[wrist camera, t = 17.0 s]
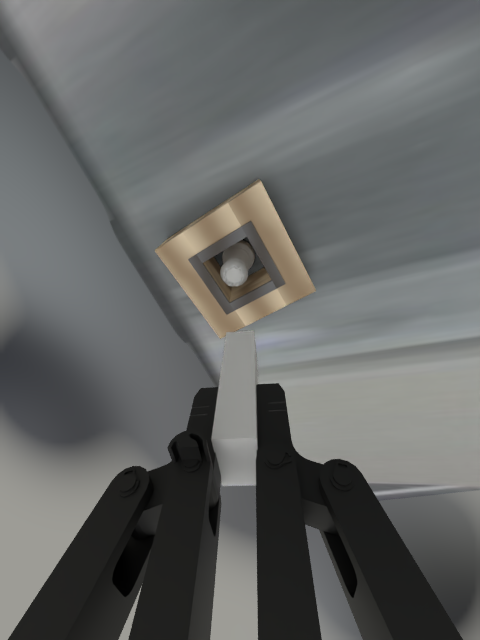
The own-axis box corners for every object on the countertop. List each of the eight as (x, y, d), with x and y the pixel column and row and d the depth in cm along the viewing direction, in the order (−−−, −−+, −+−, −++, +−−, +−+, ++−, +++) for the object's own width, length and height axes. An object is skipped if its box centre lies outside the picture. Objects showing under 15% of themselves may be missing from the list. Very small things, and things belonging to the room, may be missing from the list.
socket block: (259, 178, 34) (261, 181, 28) (307, 274, 39) (316, 291, 34) (167, 238, 37) (153, 251, 32) (223, 317, 43) (220, 340, 38)
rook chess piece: (227, 272, 40) (219, 297, 33) (219, 241, 38) (209, 261, 31) (257, 267, 39) (256, 291, 32) (251, 235, 37) (248, 253, 30)
